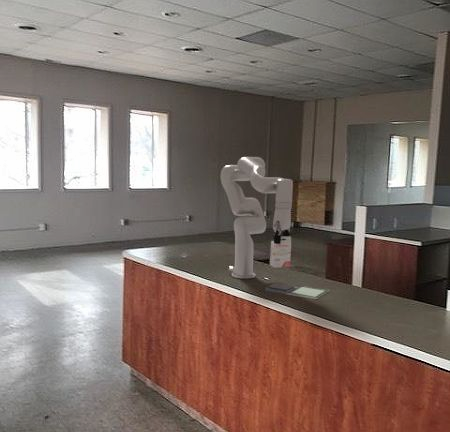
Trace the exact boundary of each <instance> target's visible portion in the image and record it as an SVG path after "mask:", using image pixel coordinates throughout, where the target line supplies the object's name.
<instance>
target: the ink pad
mask: <svg viewBox="0 0 450 432" xmlns="http://www.w3.org/2000/svg"><path fill="white" fill-rule="evenodd" d="M296 288H297V287H296V286H293V285H288V284H285V283H283V284H282V283H276V282H274V283H273V284H271V285H268V286H266V287H265V291H267V292H271V293H277V294H282V295H283V294H284V295H287V293H288V292H290V291H292V290H294V289H296Z"/></svg>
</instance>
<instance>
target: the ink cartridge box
mask: <svg viewBox="0 0 450 432" xmlns="http://www.w3.org/2000/svg"><path fill="white" fill-rule="evenodd" d="M283 238H284V239H286V240H283ZM291 251H292V236H289V237H286V236H285V237H283V236H281V243H280V244H275V243H274V240H271V242H270V253H269V254H270V257H269V266H271V268H290V267H291V256H292V253H291Z"/></svg>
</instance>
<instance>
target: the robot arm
mask: <svg viewBox="0 0 450 432" xmlns="http://www.w3.org/2000/svg"><path fill="white" fill-rule="evenodd" d="M249 181H250V185H251V187H252V188H254V190H256V191H257V192H259V193H260V194H275V202H274V204H275V206H274V207H275V210H274V214H273V221H272V229H273V241H274V243H275V244H280V243H281V240H286V239H284V238H283V239H281V237H285V236H286V237H289V236H290V235H291V225H292V222H291V221H292V215H291V214H292V212H291V211H292V206H293V205H292V204H293V187H294V183H293V182H294V181H293V179H291V178H283V177H277V176H275V177H274V176H273V177H270V176H269V177H267V176H266V162H265V161H264V159H263V158H262V157H259V156H243V157H241V158H239V159H238V161H237V164H229V165H228V164H227V165H225V166H223V168H222V169H221V171H220V183H221V185H222V187H223V189H224V191H225V193H226V195H227V200H228V203H229V206H230V209H231V212H232V213H233V215H235V216H237V218H236V219H235V220H234V222H233V230H234V236H235V237H234V240H235V241H234V242H235V244H234V266H231V265H230V266H229V267H228V271H232V273H231V277H232V278H235V279H245V280H246V279H248V280H249V279H253V278H255V277H256V275H257V274H256V273H255V272H254V240H253V239H252V237H251V235H255V234H257V235H258V234H263V233H265V231H266V230H267V229H266V228H267V221H266V219H265V218H266V217H265V216H264V215H265V214H264V212H263V208H262V206H261V203H260V201H259V200H258V199H257V198H255V197H246V196H245V194H244V191H243V189H242V187H241V186H240V185H239V184H238V183H237V182H249ZM282 231H283V232H282ZM281 234H282V235H281Z"/></svg>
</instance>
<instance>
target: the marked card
mask: <svg viewBox="0 0 450 432" xmlns="http://www.w3.org/2000/svg"><path fill="white" fill-rule="evenodd" d="M328 292H330V290H329V289H325V288H323V289H322V288H318V287H317V288H316V287H311V286H305V285H300V286H298V287H296V289H294V290H292V291H290V292H288V293H287V294H286V295H289V296H294V297H300V298H306V299H311V300H318V299H319V298H321V297H322V296H324V295H325V294H327V293H328Z"/></svg>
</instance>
